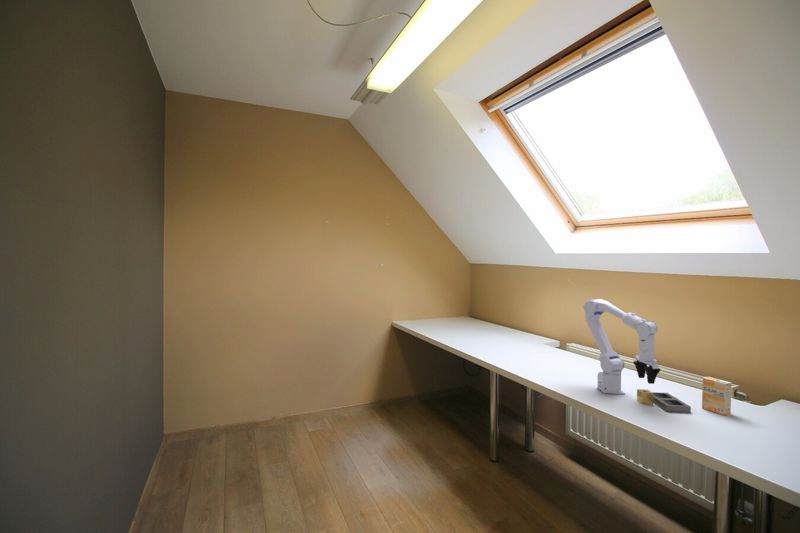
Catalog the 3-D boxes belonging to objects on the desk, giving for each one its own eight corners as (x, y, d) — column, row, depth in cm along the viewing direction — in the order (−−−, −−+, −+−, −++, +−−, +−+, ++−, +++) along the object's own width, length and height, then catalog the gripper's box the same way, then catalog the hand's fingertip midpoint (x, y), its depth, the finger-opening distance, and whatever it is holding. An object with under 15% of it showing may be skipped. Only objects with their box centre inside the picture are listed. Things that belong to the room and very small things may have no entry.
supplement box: (701, 408, 158) (701, 377, 158) (708, 406, 160) (708, 376, 160) (724, 416, 150) (725, 383, 150) (731, 414, 152) (732, 381, 152)
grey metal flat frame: (666, 411, 154) (667, 405, 154) (646, 397, 170) (646, 392, 170) (690, 412, 153) (690, 406, 153) (667, 398, 169) (667, 392, 169)
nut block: (642, 404, 163) (642, 392, 163) (636, 400, 167) (637, 388, 167) (653, 404, 162) (653, 392, 162) (647, 400, 167) (647, 389, 167)
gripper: (666, 354, 157) (665, 386, 157) (647, 346, 171) (646, 375, 172) (648, 353, 158) (647, 385, 158) (630, 345, 172) (630, 375, 172)
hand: (646, 380), depth 165 cm, fingers open, 7 cm apart
